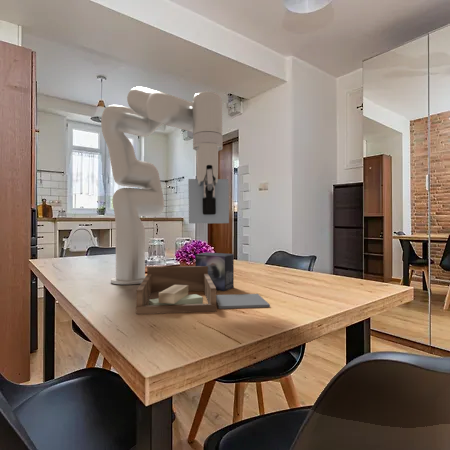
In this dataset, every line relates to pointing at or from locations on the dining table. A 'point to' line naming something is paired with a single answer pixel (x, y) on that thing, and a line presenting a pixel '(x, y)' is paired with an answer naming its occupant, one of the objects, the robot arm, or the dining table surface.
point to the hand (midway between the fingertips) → (208, 214)
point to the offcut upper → (173, 294)
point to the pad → (240, 301)
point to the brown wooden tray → (178, 275)
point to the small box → (218, 268)
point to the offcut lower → (185, 300)
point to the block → (197, 202)
